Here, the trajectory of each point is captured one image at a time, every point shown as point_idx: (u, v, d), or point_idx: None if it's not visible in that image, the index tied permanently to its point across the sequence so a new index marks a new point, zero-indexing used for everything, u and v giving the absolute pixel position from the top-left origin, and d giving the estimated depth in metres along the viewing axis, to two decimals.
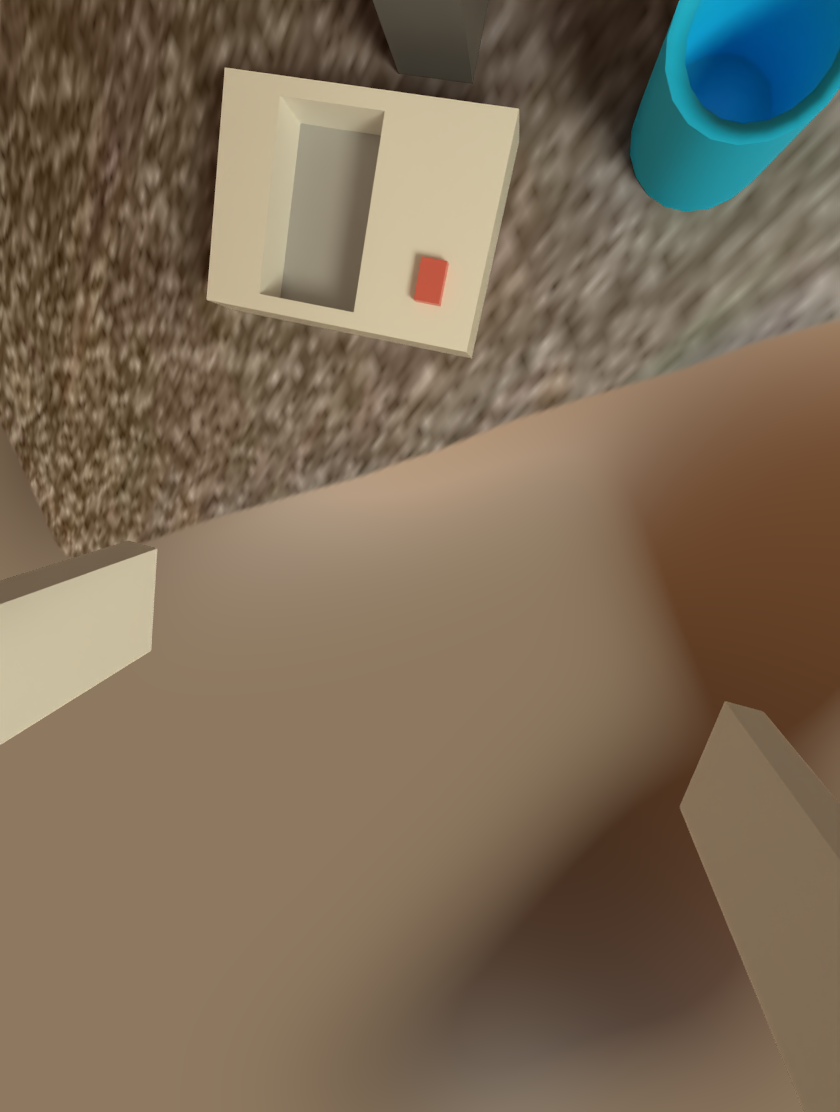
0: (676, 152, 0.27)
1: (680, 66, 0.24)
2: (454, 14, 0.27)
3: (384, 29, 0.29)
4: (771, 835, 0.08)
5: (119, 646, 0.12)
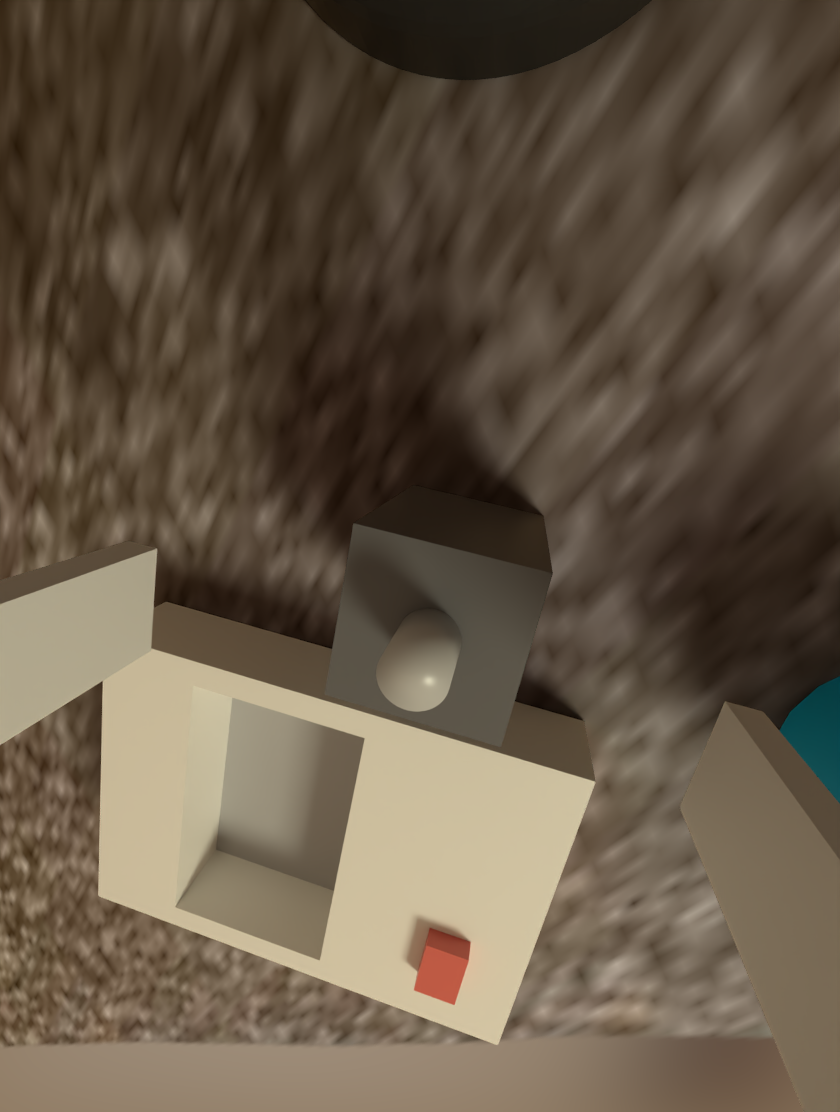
0: None
1: None
2: None
3: None
4: (771, 836, 0.08)
5: (119, 646, 0.12)
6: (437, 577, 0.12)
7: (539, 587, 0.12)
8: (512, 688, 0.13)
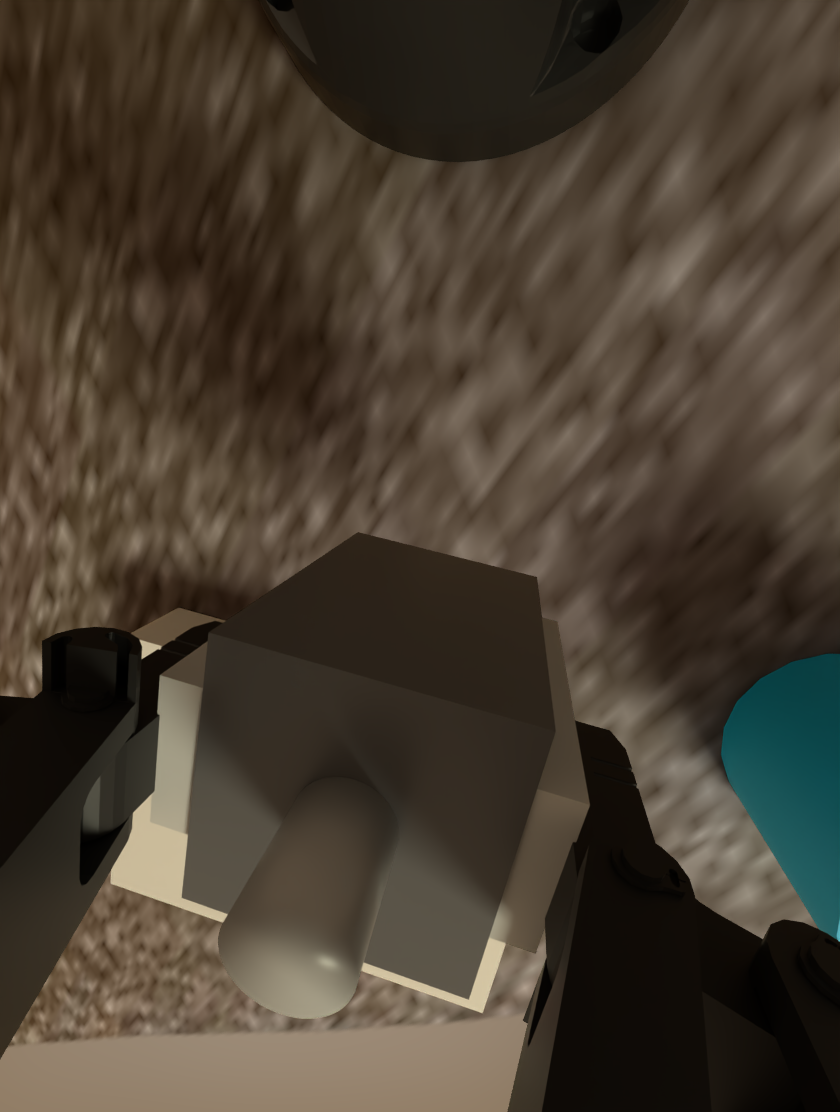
0: None
1: None
2: None
3: None
4: None
5: None
6: (354, 728, 0.07)
7: (532, 754, 0.07)
8: (486, 912, 0.07)
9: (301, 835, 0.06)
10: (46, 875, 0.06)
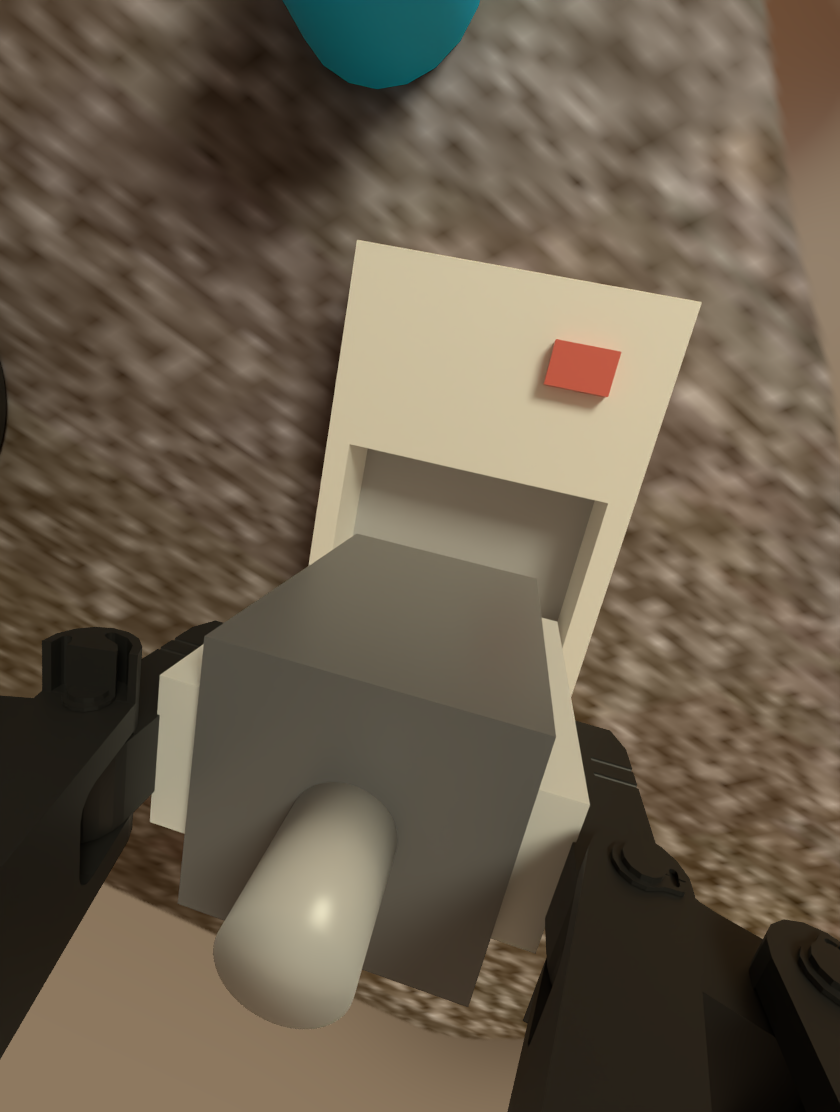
0: None
1: None
2: None
3: None
4: None
5: None
6: (352, 732, 0.07)
7: (532, 759, 0.07)
8: (486, 919, 0.07)
9: (298, 842, 0.06)
10: (46, 875, 0.06)
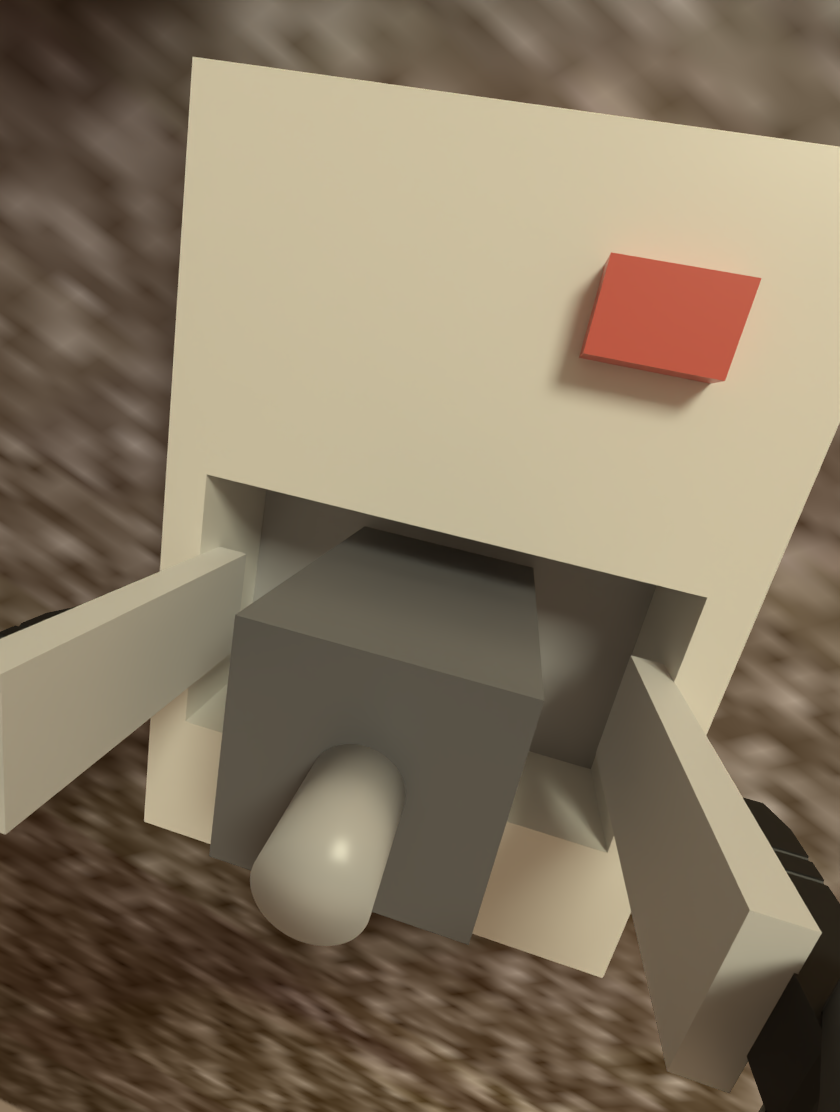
0: None
1: None
2: None
3: None
4: (646, 760, 0.09)
5: (214, 645, 0.13)
6: (365, 699, 0.08)
7: (523, 721, 0.08)
8: (484, 864, 0.08)
9: (320, 791, 0.07)
10: None
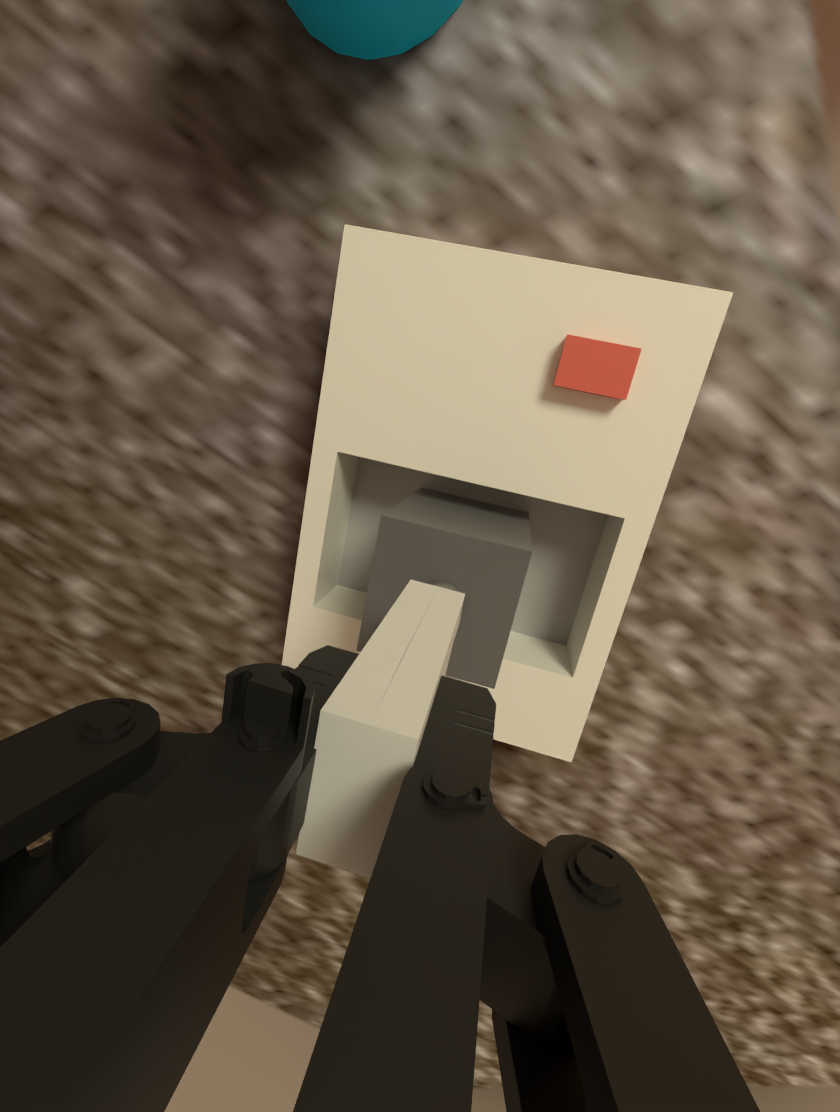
0: None
1: None
2: None
3: None
4: None
5: None
6: (445, 556, 0.16)
7: (522, 562, 0.16)
8: (502, 641, 0.17)
9: None
10: (218, 927, 0.05)
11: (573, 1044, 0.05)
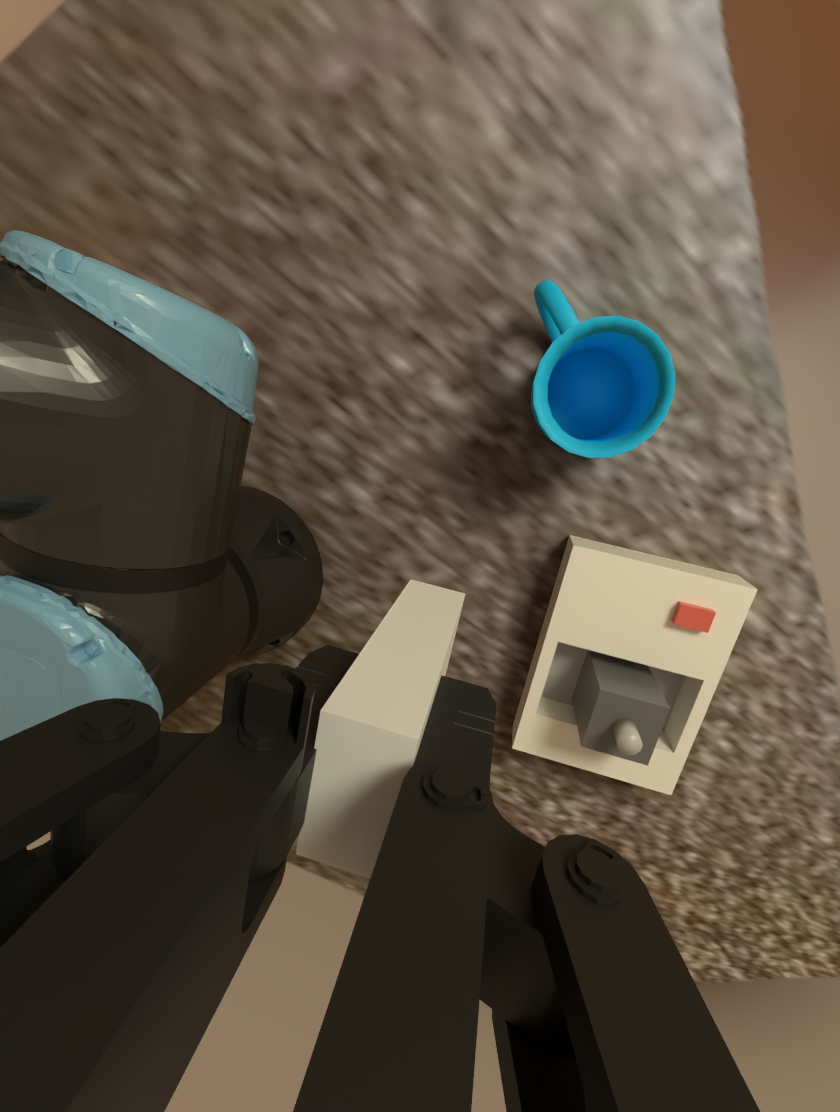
0: None
1: (609, 446, 0.32)
2: None
3: (576, 720, 0.41)
4: None
5: None
6: (629, 708, 0.37)
7: (665, 712, 0.36)
8: (653, 745, 0.37)
9: (625, 726, 0.36)
10: (218, 927, 0.05)
11: (573, 1044, 0.05)
